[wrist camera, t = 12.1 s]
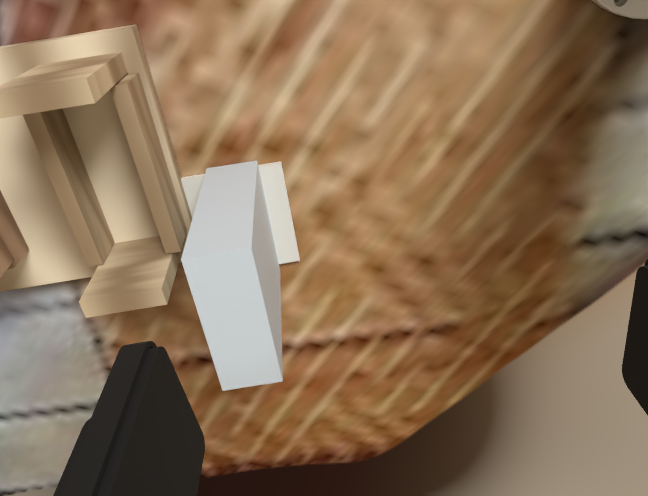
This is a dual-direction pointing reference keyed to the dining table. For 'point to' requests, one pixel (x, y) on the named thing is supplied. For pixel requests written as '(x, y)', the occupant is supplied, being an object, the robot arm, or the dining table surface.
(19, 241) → the block
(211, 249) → the white rectangular block
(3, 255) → the offcut top
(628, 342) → the robot arm
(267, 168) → the felt pad
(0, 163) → the rack
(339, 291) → the dining table surface
